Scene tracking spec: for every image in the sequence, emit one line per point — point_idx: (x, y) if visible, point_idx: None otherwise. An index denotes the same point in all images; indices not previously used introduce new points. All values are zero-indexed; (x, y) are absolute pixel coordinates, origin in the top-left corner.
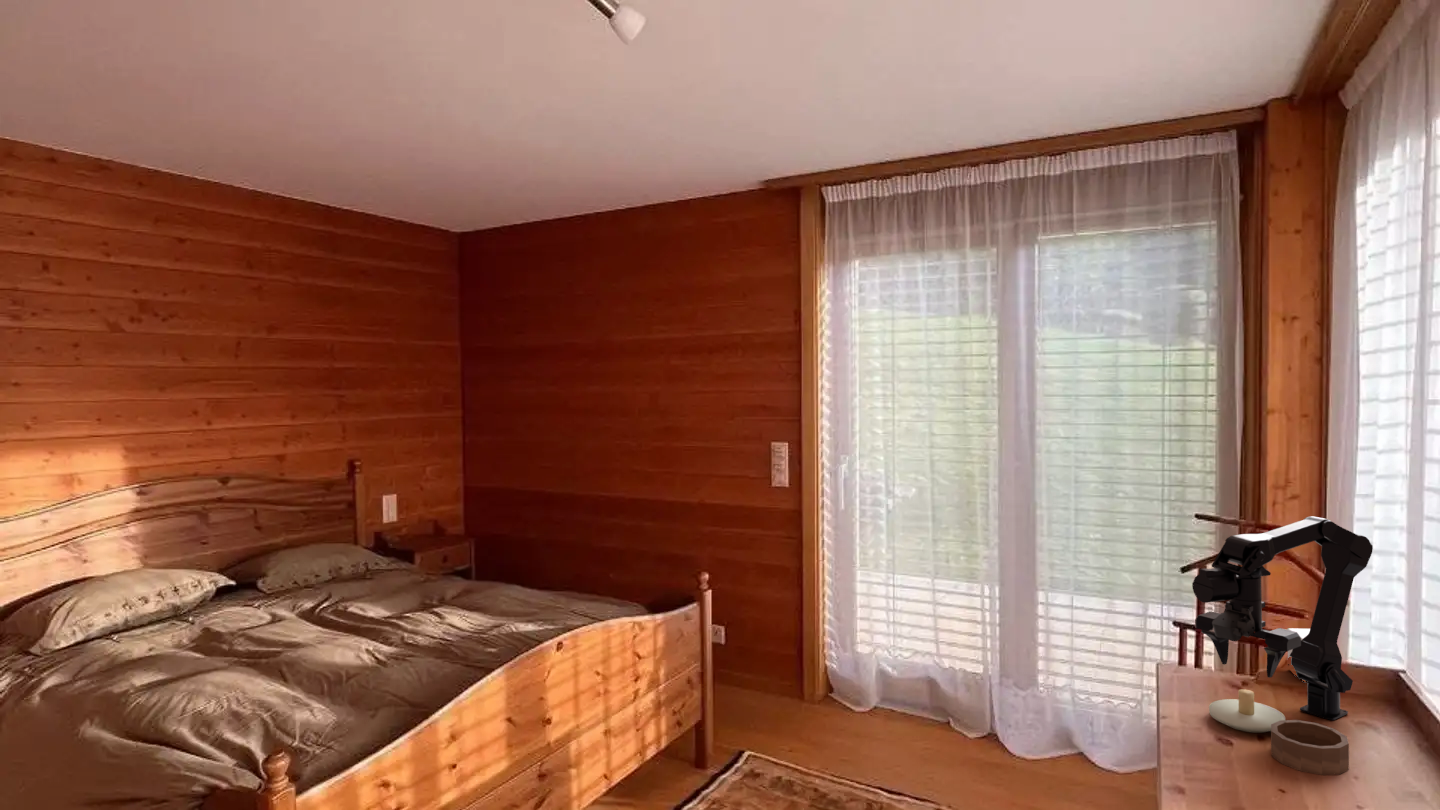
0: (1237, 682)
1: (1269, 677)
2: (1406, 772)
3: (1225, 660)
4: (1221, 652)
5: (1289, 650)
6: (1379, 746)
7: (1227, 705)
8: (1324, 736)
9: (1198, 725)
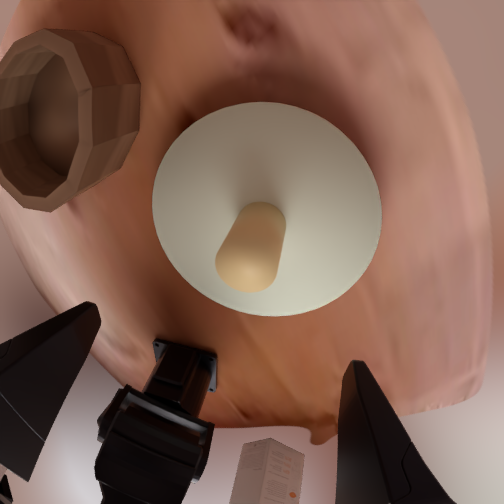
0: None
1: (86, 302)
2: (7, 203)
3: (347, 388)
4: (369, 425)
5: (297, 483)
6: (64, 276)
7: (332, 241)
8: (47, 186)
9: (370, 85)
